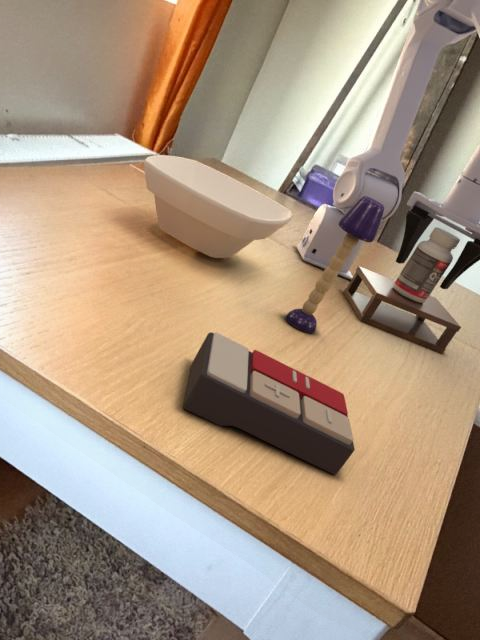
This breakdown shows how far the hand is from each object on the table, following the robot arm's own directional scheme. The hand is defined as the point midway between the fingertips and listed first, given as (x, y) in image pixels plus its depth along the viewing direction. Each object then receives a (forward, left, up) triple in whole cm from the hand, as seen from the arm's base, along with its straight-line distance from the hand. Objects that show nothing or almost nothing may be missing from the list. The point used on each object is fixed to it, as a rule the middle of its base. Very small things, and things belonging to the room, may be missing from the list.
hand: (421, 275), depth 111 cm
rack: (0, 0, -8) cm, 8 cm away
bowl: (-33, -1, -8) cm, 34 cm away
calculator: (-29, -50, -8) cm, 58 cm away
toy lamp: (-19, -19, -8) cm, 28 cm away
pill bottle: (0, 0, -3) cm, 3 cm away
